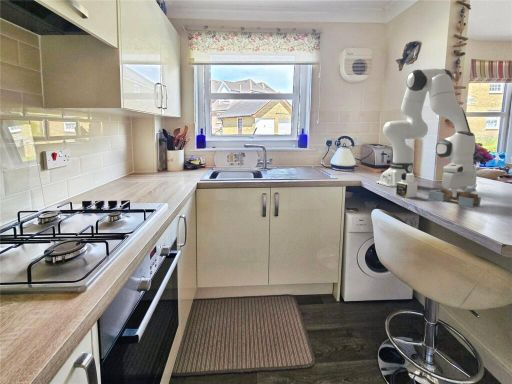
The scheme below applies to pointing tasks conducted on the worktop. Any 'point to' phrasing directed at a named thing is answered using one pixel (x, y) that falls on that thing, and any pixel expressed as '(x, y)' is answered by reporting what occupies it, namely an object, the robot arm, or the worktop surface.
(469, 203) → the cap open
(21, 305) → the worktop surface
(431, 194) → the cap closed
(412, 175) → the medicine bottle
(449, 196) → the slat
